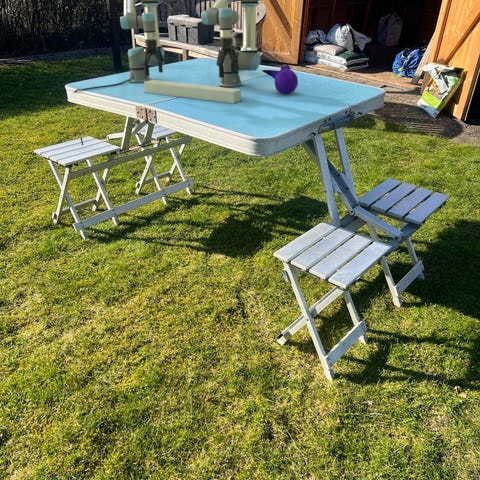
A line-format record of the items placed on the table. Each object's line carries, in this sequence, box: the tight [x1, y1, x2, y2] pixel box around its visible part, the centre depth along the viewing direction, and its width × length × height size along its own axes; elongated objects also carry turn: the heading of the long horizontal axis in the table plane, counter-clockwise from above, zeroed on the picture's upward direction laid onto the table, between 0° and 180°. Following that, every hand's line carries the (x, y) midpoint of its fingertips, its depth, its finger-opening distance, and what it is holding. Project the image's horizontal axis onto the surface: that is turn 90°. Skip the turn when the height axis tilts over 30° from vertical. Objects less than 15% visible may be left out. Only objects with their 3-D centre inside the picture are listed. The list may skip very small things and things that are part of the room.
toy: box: [261, 64, 299, 95], centre depth 294 cm, size 16×18×27 cm
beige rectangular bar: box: [143, 79, 242, 104], centre depth 292 cm, size 71×9×7 cm, turn 59°
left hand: (154, 74), depth 300 cm, fingers open, 13 cm apart
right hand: (227, 75), depth 273 cm, fingers open, 13 cm apart
